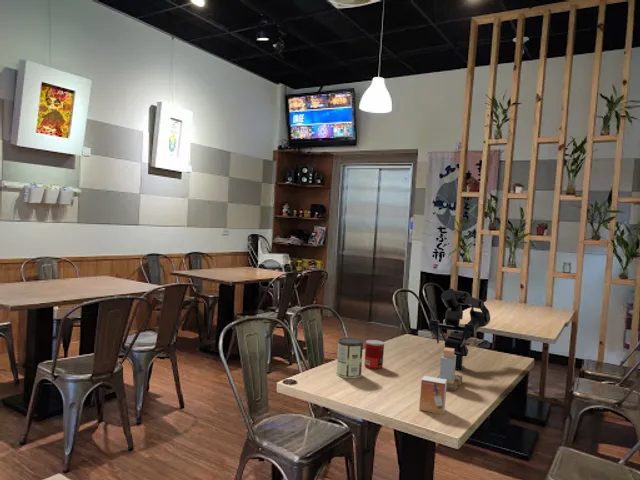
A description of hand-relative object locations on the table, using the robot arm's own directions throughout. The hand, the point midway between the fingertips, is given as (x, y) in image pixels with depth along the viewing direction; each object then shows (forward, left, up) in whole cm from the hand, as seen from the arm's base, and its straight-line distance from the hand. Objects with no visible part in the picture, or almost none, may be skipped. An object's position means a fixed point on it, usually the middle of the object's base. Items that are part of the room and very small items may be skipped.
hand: (449, 344), depth 198 cm
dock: (+10, +3, -14) cm, 17 cm away
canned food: (+7, -30, -14) cm, 34 cm away
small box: (+41, +5, -14) cm, 43 cm away
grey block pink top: (+12, +3, -11) cm, 16 cm away
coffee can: (+24, -34, -14) cm, 44 cm away
